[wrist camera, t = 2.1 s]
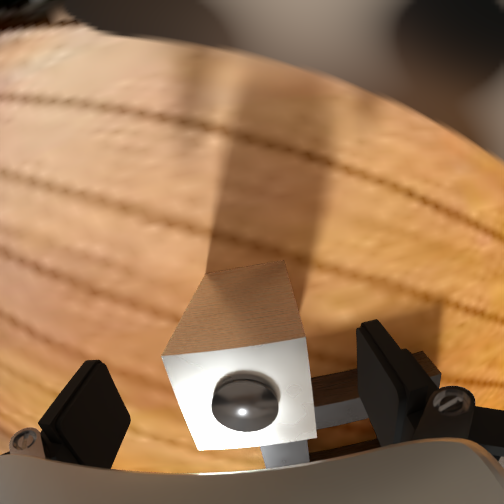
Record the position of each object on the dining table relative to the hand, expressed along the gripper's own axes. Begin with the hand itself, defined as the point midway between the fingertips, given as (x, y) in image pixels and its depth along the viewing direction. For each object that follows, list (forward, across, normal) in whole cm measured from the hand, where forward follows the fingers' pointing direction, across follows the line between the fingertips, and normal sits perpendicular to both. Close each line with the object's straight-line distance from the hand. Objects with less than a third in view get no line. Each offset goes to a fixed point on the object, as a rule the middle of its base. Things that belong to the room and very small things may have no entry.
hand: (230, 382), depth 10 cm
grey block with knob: (+8, -1, 0) cm, 8 cm away
